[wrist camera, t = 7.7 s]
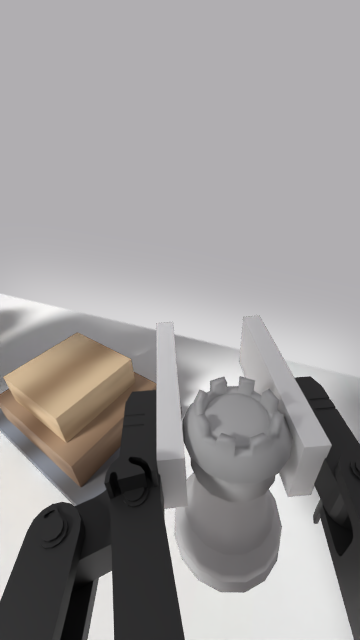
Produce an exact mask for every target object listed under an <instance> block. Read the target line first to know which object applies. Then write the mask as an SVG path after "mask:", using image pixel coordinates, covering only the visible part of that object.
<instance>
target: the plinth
mask: <svg viewBox="0 0 360 640" xmlns="http://www.w3.org/2000/svg"><path fill="white" fill-rule="evenodd" d="M4 379H5V381H6V383H7V385H8V387H9V389H8V390H6V391H4V392H3V393H1V394H0V431H1V432H2V433H3V434H4V435H5V436H6V437H7V438H8V439H9V440H10V441H11V442H12V443H13V444H14V445H15V446H16V447H17V448H18V449H19V450H20V451H21V452H22V453H23V454H24V455H25V456H26V457H27V458H28V459H29V460H30V461H31V462H32V463H33V464H34V465H35V467H36V468H37V469H38V470H39V471H40V472H41V473H42V474H43V475H44V476H45V477H46V478H47V479H48V480H49V481H50V482H51V483H52V484H53V485H54V486H55V487H56V488H57V489H58V490H59V491H60V492H61V493H62V494H63V495H64V496H65V497H66V498H67V499H68V500H69V501H70V502H71V503H72V504H73V505H74V506H76V505H79V504H81V503H83V502H85V501H87V500H90V499H92V498H94V497H96V496H98V495H99V494H101V493H103V492H104V491H105V490H106V487H105V484H104V481H105V476H106V472H107V470H108V469H109V467H110V465H111V464H112V463H113V462H114V461H115V460H116V459H117V458H118V457H119V454H120V445H121V437H122V428H123V419H124V410H125V403H126V401H127V399H128V398H129V396H130V394H131V393H132V392H135V391H147V390H157V384H156V383H154V382H152V381H150V380H148V379H147V378H145V377H143V376H141V375H139V374H137V373H135V372H133V367H132V361H131V359H130V358H128V357H126V356H124V355H122V354H120V353H118V352H116V351H114V350H112V349H110V348H108V347H106V346H104V345H102V344H100V343H98V342H96V341H94V340H92V339H90V338H88V337H86V336H84V335H82V334H80V333H78V332H77V333H75V334H74V335H72V336H70V337H69V338H67V339H65V340H64V341H62V342H60V343H59V344H57V345H55V346H54V347H52V348H50V349H49V350H47V351H45V352H44V353H42V354H40V355H39V356H37V357H36V358H34V359H32V360H31V361H29V362H27V363H26V364H24V365H22V366H21V367H19V368H17V369H16V370H14V371H12V372H11V373H9V374H7V375H6V376H4ZM180 408H181V414H182V407H180Z"/></svg>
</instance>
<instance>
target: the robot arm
mask: <svg viewBox="0 0 360 640" xmlns="http://www.w3.org/2000/svg"><path fill="white" fill-rule="evenodd" d="M156 358H157V390H147V391H135V392H132V393H131V394H130V396H129V398H128V399H127V401H126V403H125V410H124V419H123V428H122V437H121V445H120V454H119V457H118V458H117V459H116V460H115V461H114V462H113V463H112V464H111V465H110V467H109V469H108V470H107V472H106V476H105V481H104V484H105V487H106V490H105V491H104V492H103V493H101V494H99V495H98V496H96V497H94V498H92V499H90V500H87V501H85V502H83V503H81V504H79V505H76V506H73V505H72V504H70V503H65V502H60V503H56V504H52V505H50V506H49V507H47V508H45V509H44V510H42V511H41V512H40V513H39V514H38V516H37V517H36V518H35V519H34V520H33V522H32V523H31V525H30V527H29V529H28V531H27V533H26V536H25V538H24V541H23V544H22V546H21V549H20V551H19V554H18V557H17V559H16V562H15V564H14V567H13V570H12V572H11V575H10V577H9V580H8V583H7V585H6V588H5V590H4V593H3V596H2V598H1V601H0V640H87V639H88V633H89V628H90V622H91V617H92V612H93V606H94V601H95V595H96V590H97V585H98V579H99V577H101V576H103V575H105V574H106V573H108V572H110V571H112V579H113V611H114V640H185V638H184V632H183V627H182V621H181V615H180V609H179V603H178V597H177V591H176V586H175V580H174V574H173V568H172V562H171V556H170V550H169V545H168V539H167V533H166V527H165V521H164V509H167V508H177V507H188V503H187V486H186V469H185V454H184V442H183V431H182V419H181V408H180V397H179V385H178V374H177V362H176V351H175V339H174V329H173V322H167V323H156ZM239 362H240V365H241V368H242V370H243V373H244V376H245V378H248V379H252V380H255V385H254V391H255V392H257V393H259V394H260V395H262V392H264V391H266V390H267V389H270V390H271V391H272V392H273V394H274V395H275V396H276V397H277V398H278V399H279V404H278V410H279V411H280V413H281V414H284V417H285V418H286V421H287V423H288V426H289V429H290V432H291V435H292V438H293V439H292V447H291V455H290V458H289V459H288V461H287V462H286V463H285V465H284V466H283V467H282V469H281V470H280V471H279V474H280V476H281V479H282V482H283V485H284V488H285V490H286V493H287V496H288V497H292V496H302V495H311V493H312V491H313V488H314V486H315V487H316V490H317V492H318V494H319V496H320V501H319V503H318V505H317V507H316V509H315V512H314V515H313V520H314V523H315V524H317V523H318V521H319V520H320V518H321V521H322V525H323V528H324V532H325V536H326V539H327V543H328V547H329V550H330V554H331V557H332V561H333V565H334V568H335V572H336V576H337V579H338V583H339V587H340V590H341V594H342V597H343V601H344V605H345V608H346V612H347V616H348V619H349V623H350V627H351V630H352V634H353V637H354V640H360V444H359V443H358V441H357V440H356V438H355V437H354V435H353V433H352V432H351V430H350V429H349V427H348V426H347V424H346V423H345V421H344V420H343V418H342V416H341V415H340V413H339V412H338V410H337V409H335V406H334V404H333V403H332V401H331V400H330V399H329V396H328V395H327V393H326V392H325V390H324V389H323V387H322V386H321V385H320V384H319V383H318V382H316V381H315V380H314V379H313V378H311V377H310V376H309V377H297V378H294V376H293V375H292V373H291V371H290V369H289V367H288V366H287V364H286V362H285V360H284V358H283V357H282V355H281V353H280V351H279V350H278V348H277V346H276V344H275V342H274V341H273V339H272V337H271V335H270V334H269V332H268V330H267V328H266V326H265V325H264V323H263V321H262V319H261V317H260V316H248V317H243V327H242V337H241V348H240V358H239Z"/></svg>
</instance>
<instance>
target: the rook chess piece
mask: <svg viewBox="0 0 360 640" xmlns="http://www.w3.org/2000/svg"><path fill="white" fill-rule="evenodd" d="M254 385H255V380H252V379H248V378H244V377H241V376H240V378H239V386H229V387H227V382H226V380H225V377H221V378H218V379H215V380H212V381H210V391H209V392H207V393H206V392H204V391H202V390H199V392H198V394H197V396H196V398H195V400H194V403H192V404H191V405H190V407H189V409H188V411H187V413H186V415H185V417H184V419H183V423H182V431H183V441H184V444H185V446H186V448H187V450H188V453H189V455H190V457H191V467H192V469H193V471H194V473H193V474H192V475H191V476H190V477H189V478H188V479H187V480H186V486H187V503H188V507H177V508H176V510H175V539H176V542H177V545H178V548H179V551H180V554H181V557H182V560H183V561H184V562H185V564H186V565H187V566H188V568H189V569H190V570H191V571H192V573H193V574H194V575H195V576H196V578H197V579H198V580H199V581H201V582H203V583H205V584H207V585H208V586H210V587H212V588H214V589H216V590H218V591H219V592H246V591H248V590H250V589H251V588H253V587H255V586H257V585H258V584H260V583H262V582H264V581H265V580H266V578H267V576H268V575H269V573H270V571H271V570H272V568H273V566H274V565H275V563H276V561H277V558H278V551H279V544H280V536H281V528H282V526H281V521H280V517H279V513H278V509H277V505H276V501H275V498H274V497H273V495H272V494H271V492H270V490H269V488H270V486H271V485H272V484H273V482H274V481H275V475H276V474H278V473H279V471H280V470H281V469H282V467H283V466H284V465H285V463H286V462H287V461H288V459H289V458H290V455H291V447H292V439H293V438H292V435H291V432H290V429H289V426H288V423H287V421H286V418H285V417H284V414H281V413H280V411H279V410H278V404H279V399H278V398H277V397H276V396H275V395H274V394H273V392H272V391H271V390H270V389H267V390H266V391H264V392H262V395H260V394H259V393H257V392H255V391H254Z"/></svg>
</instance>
